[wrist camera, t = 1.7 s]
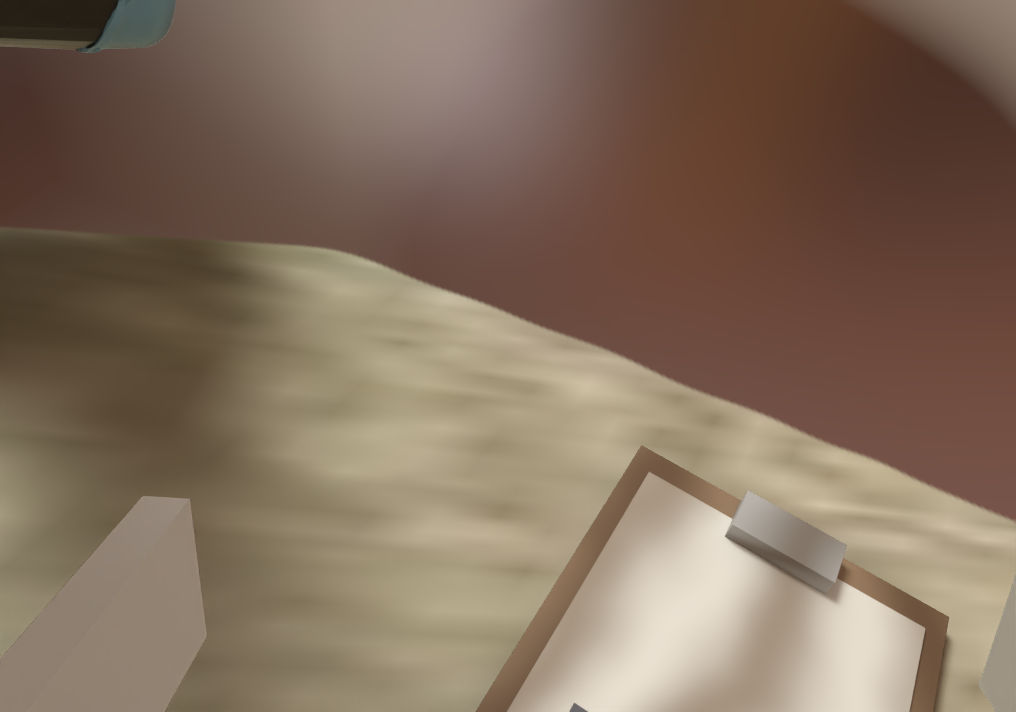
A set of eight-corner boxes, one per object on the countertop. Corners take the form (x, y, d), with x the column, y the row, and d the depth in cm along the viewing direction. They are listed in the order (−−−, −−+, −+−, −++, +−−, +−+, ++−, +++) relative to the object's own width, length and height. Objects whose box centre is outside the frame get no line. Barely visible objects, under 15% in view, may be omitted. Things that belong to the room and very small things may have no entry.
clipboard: (414, 814, 29) (420, 794, 27) (635, 457, 42) (648, 430, 41) (845, 1134, 25) (881, 1132, 23) (937, 626, 38) (964, 604, 37)
